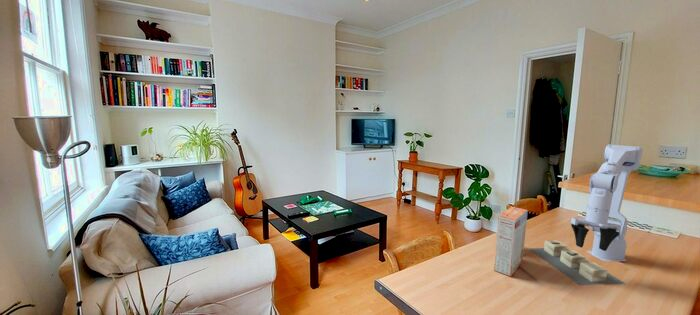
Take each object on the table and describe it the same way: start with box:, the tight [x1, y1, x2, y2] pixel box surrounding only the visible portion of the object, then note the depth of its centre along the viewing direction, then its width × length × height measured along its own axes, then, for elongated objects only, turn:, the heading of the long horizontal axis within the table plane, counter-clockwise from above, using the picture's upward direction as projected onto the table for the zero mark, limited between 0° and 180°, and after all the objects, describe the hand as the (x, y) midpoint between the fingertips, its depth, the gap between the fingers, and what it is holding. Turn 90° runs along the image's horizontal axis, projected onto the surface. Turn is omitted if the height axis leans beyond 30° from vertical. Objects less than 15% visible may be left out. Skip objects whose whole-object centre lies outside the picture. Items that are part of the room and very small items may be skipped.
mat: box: [528, 247, 626, 286], centre depth 107 cm, size 16×25×1 cm, turn 4°
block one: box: [543, 239, 567, 256], centre depth 115 cm, size 5×5×4 cm
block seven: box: [560, 250, 586, 268], centre depth 107 cm, size 5×5×4 cm
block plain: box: [579, 261, 608, 282], centre depth 99 cm, size 5×5×4 cm
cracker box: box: [493, 206, 528, 277], centre depth 105 cm, size 14×6×21 cm, turn 134°
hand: (590, 248), depth 98 cm, fingers open, 7 cm apart
